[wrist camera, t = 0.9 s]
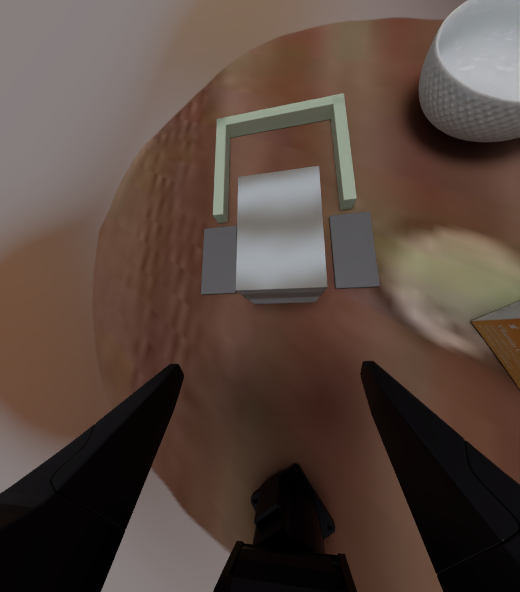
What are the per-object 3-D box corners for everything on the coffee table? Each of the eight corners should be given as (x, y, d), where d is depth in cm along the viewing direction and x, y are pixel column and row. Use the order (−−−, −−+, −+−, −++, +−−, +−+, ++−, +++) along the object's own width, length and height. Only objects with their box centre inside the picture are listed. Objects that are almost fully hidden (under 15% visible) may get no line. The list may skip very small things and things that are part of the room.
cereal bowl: (584, 113, 23) (709, 20, 16) (466, 192, 23) (538, 134, 17) (471, 47, 27) (532, -50, 20) (373, 115, 28) (400, 43, 21)
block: (315, 302, 24) (327, 286, 16) (254, 304, 25) (235, 290, 17) (310, 217, 26) (318, 165, 18) (254, 223, 28) (238, 177, 19)
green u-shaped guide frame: (378, 286, 23) (386, 282, 21) (202, 294, 27) (195, 291, 25) (354, 106, 28) (358, 90, 26) (210, 134, 32) (205, 121, 30)
